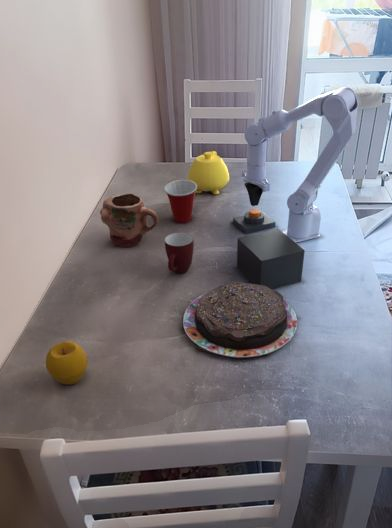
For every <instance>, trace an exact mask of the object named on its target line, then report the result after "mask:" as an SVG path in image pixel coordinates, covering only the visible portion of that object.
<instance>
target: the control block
mask: <svg viewBox="0 0 392 528" xmlns="http://www.w3.org/2000/svg"><path fill="white" fill-rule="evenodd" d="M232 223H233V224H234V225H235V226H236V227H237V228H238V229H240V230H241V231H242V232H243V233H244V234H249V233H255V232H259V231H263V230H267V229H271V228H276V224H277V223H276V221H275V220H274V219H272V218H271V217H270V216H269V215H267V214H266V213H265V212H263V211H260V217H257V218H252V217H249V210H248V211H246V212H245V213H244V215H240V216H235V217H232Z"/></svg>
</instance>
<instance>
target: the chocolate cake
mask: <svg viewBox="0 0 392 528" xmlns="http://www.w3.org/2000/svg"><path fill="white" fill-rule="evenodd" d="M297 316H298V315H297V314H296V311H295V310H294V308H293V306H292V305H290V303H288V301H286V300H285V299H284V296H283V294H282V293H281V292H279V291H277V290H275V289H270V288H268V287H266V286H264V285H258V284H251V283H247V282H237V281H227V282H226V283H224V284H221V285H220V286H217V287H215V288H213V289H211V290H209V291H208V292H205V293H203V294H201V295H199V296H198V297H196V298H195V299H194V300H192V301H191V303H190V304H188V306H187V307H186V309H185V311H184V312H183V316H182V326H183V327H182V328H183V330H184V332H185V334H186V336H187V337H188V338H189V339H190V340H191V341H192V342H193V343H194V344H195V346H196V347H197V348H198V350H199V351H204V352H208V353H213V354H215V355H221V356H224V357H229V358H234V359H244V358H252V357H260V356H270V355H271V354H272V353H273V352H277V350H279V349H281V348H283V347H284V346H285V345H287V344H288V343H289V341H290V340H292V339H293V338H294V336H295V334H296V332H297V329H298V317H297Z"/></svg>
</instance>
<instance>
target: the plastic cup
mask: <svg viewBox="0 0 392 528" xmlns="http://www.w3.org/2000/svg"><path fill="white" fill-rule="evenodd" d="M163 189H164V192H165V193H166V195H167V197H168V201H169V204H170V209H171V211H172V212H171V213H172V216H173V220H174V222H175V223H179V224H187V223H190V222H191V220H192V216H193V210H194V202H195V195H196V193H195V192H196V189H197V185H196V183H194V182H193V181H189V180H188V179H177V180H173V181H170V182H169V183H167V184H165V186H164V188H163Z"/></svg>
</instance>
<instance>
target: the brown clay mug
mask: <svg viewBox="0 0 392 528" xmlns="http://www.w3.org/2000/svg"><path fill="white" fill-rule="evenodd" d="M102 202H103V203H102V208H101V209H100V210H99V214H100V220H101V222H102V223H103V224H104V225H105V226H107V227H108V230H109V239H110V241H111V243H112V244H113V245H115V246H116V247H119V248H132V247H134V246H136V245H138V244H140V242H141V241H142V239H143V236H144V235H146V234H147V233H150V232H151V231H152V230H153V229H155V228H156V227H158V223H159V217H158V215H157V213H156V212H155V211H154V210H152V209H151V208H147V207H146V206H145V203H144V202H145V201H144V200H143V199H142V198H141V196H139V195H136V194H134V193H124V194H122V193H121V194H118V195H113V196H109V197H108V198H106V199H104V201H102ZM149 217H150V218H152V220H153V224H152V225H151V226H148V225H147V221H148V219H149Z"/></svg>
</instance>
